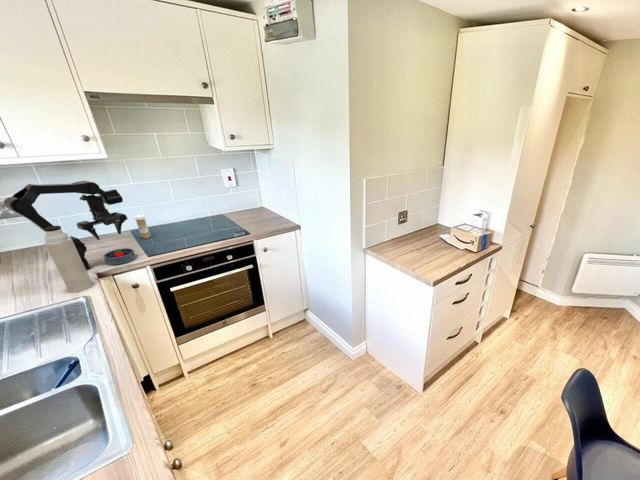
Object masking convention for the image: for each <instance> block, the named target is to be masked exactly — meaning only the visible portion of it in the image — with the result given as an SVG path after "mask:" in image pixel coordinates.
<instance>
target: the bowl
mask: <svg viewBox="0 0 640 480" xmlns="http://www.w3.org/2000/svg"><path fill="white" fill-rule="evenodd" d="M117 249H118V250H121V251H122V252H124V254H125V256H122V257H116V258H115V257H114V254H115V251H116V250H117ZM117 249H113V250H110V251H107V252H105V253H104V254H103V256H102V257H103V259H104V262H105V263H106V264H107V265H112V266H113V265H114V266H115V265H123V264H126V263H130V262H131V261H133V260H135V259H136V258H137V255H136V252H135V249H134V248H128V247H127V248H125V247H123V248H117Z"/></svg>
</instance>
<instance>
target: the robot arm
mask: <svg viewBox="0 0 640 480" xmlns="http://www.w3.org/2000/svg"><path fill="white" fill-rule="evenodd" d="M48 194H49V195H50V194H82V195H81V196H80V197H79V200H80V201H84V202H86V203H87V206H88V208H89V209H88V211H89V213H91V216H92V221H89V220H83V221H79V222H77V223H76V227H77V229H79V230H82V231H85V232H86V231H87V232H88V233H89V234H91V235H92V236H93V237H94V238H95V240H97V241H100V240H101V239H100V236H99V235H98V233H97V231H96V227H94V226H97V225H101V224H103V225H104V226H110V225H114V227H115V230H116V232H117V234H118V235H121V233H122V226H123V224H124V223H125V222H126V221H127V220H128V219H129V218H128V216H127V215H126V214H124V213H121V212H117V211H115V212H110V211H109V210H108V208H107V207H106V205H107V206H112V205H116V204H121V203H123V202H124V199H123V196H122V195H121V194H120V192H118V189H115V188H113V189H109V190H104V189H102V188H100V186H99V184H97V183H96V182H93V181H90V180H79V181H75V182H71V183H42V184H38V183H37V184H34V183H29V184H27V185H25V186H24V187H23V188H22V189H20V190H18V191H17V192H15V193H14V194H13V195H11V196H9V197H6V198H5V199H4V200H3V207H5V208H6V209H8V210H9V211H11V212H13V213H15V214H17V215H19V216H20V217H23V218H25V219H26V220H28V221H30V222H31V223H32V224H34V225H35V226H36V227H38V228H39V229H41V231H43V232H44V233H45V231H44V228H46V227H50V226H54V225H53V224H52V223H51V222H49V221H48V220H47V219H46V218H44V217H43V216H41V215H40V214H39V212H38V211H37V209H36V208H35V207H34V206H33V204H34V203H35V202H36V201H37V199H38V198H39V196H40V195H48ZM69 237H70V238H71V239H72V241H73V243H74V245H75V247H76V249H77V251H78V254H79V256H80V258H81V260H82V262H83V264H84V267H85V269H86V271H88V270H90V269H92V267H91V266H90V264H89V261H88V259H87V258H86V253H87V250H88V249H87V246H86V243H84V242H82V240H80V239H79V238H78V237H75V236H73V235H70V236H69Z"/></svg>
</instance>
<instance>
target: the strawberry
mask: <svg viewBox="0 0 640 480" xmlns="http://www.w3.org/2000/svg"><path fill="white" fill-rule="evenodd" d="M118 249H119V248H116V249H115V250H116V251H115V254H114V257H115V258H116V257H122V256H125V254H124V252H122V251H121V250H118Z"/></svg>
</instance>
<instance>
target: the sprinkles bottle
mask: <svg viewBox="0 0 640 480" xmlns="http://www.w3.org/2000/svg"><path fill="white" fill-rule="evenodd" d="M134 220H135V221H136V224H137V228H138V231H139V233H140V237H141V239H149V238H151V233H150V230H149V227H148V224H147V222H146V217H145V215H144V214H137V215H134Z"/></svg>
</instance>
